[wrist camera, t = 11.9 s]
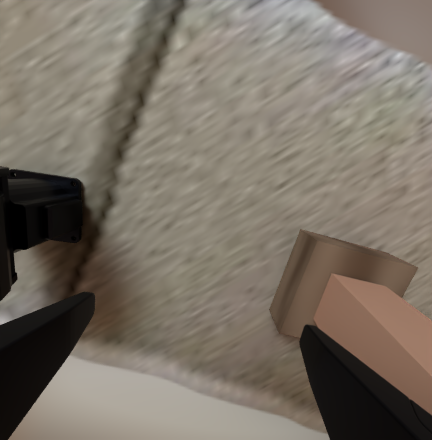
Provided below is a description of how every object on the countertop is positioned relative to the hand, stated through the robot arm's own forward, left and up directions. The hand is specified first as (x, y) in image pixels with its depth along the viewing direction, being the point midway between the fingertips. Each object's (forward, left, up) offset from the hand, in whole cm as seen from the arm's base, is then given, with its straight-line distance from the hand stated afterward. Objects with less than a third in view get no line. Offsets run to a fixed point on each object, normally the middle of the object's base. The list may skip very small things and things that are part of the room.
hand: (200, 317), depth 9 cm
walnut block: (+14, -4, -14) cm, 20 cm away
